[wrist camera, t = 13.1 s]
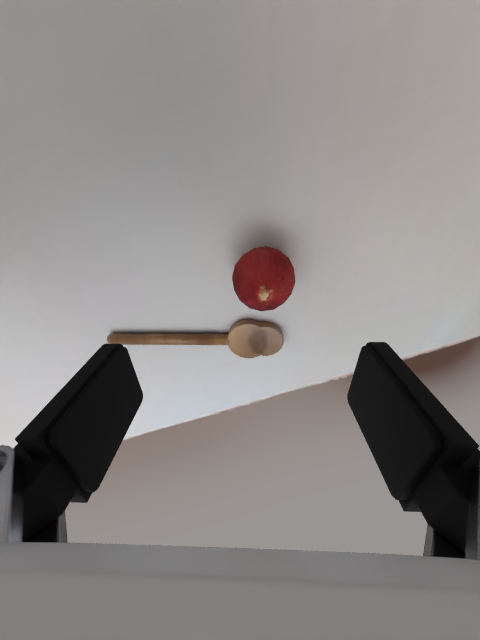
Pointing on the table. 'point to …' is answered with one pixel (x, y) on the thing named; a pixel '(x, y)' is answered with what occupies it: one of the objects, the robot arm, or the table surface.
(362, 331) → the table surface
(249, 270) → the onion
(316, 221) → the table surface
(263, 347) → the spoon
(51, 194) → the table surface
